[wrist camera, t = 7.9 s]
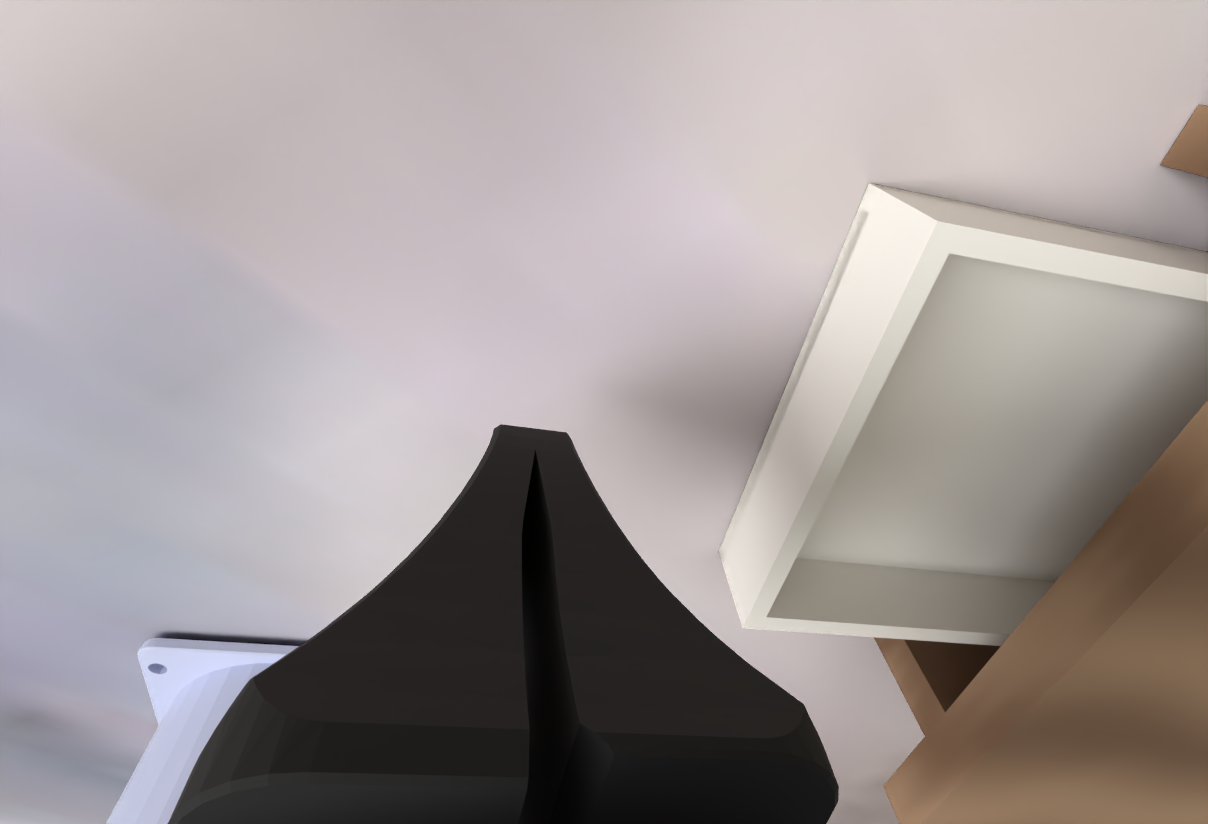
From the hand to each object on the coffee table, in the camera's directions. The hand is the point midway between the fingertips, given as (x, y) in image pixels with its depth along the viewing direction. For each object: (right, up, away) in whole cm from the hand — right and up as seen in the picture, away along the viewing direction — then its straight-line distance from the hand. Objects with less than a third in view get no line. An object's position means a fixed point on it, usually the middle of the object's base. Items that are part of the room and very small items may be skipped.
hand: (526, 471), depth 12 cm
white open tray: (+13, +1, +6) cm, 15 cm away
